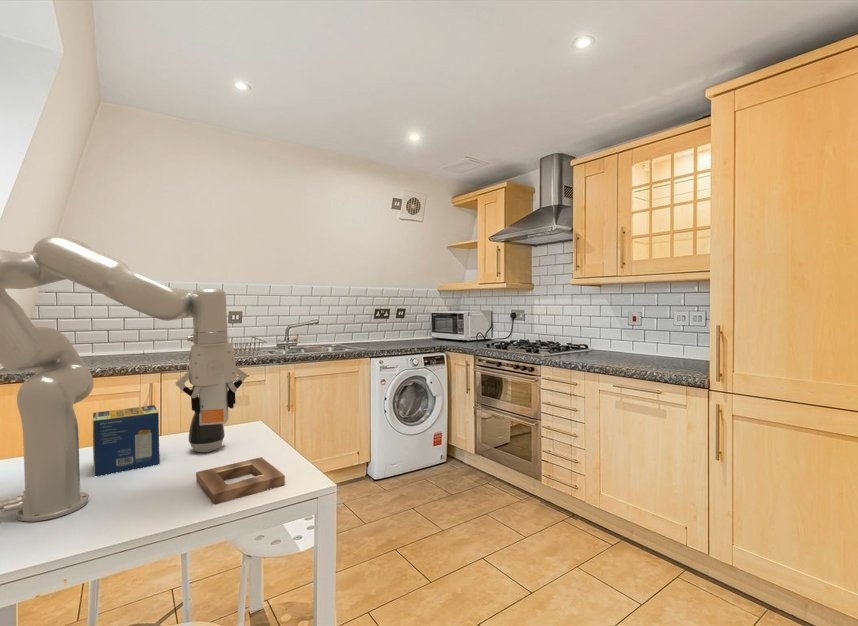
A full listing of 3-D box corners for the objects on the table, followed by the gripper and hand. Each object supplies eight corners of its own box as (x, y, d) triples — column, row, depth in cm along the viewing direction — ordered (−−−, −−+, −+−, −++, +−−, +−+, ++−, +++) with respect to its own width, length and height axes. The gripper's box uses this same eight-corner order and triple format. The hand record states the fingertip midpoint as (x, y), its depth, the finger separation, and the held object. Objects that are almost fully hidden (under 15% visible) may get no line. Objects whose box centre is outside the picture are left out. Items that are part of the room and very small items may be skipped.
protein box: (94, 465, 127) (92, 412, 126) (156, 454, 136) (155, 404, 135) (93, 477, 118) (92, 420, 118) (160, 464, 128) (159, 411, 127)
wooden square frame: (213, 504, 103) (213, 493, 103) (196, 481, 116) (196, 471, 116) (284, 484, 114) (284, 475, 114) (261, 465, 127) (261, 456, 127)
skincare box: (199, 426, 107) (196, 377, 106) (203, 421, 111) (201, 374, 110) (226, 423, 108) (224, 375, 108) (229, 419, 112) (227, 372, 112)
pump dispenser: (221, 454, 136) (220, 405, 136) (184, 456, 134) (183, 407, 133) (228, 443, 146) (227, 397, 146) (194, 445, 144) (193, 399, 143)
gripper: (173, 342, 100) (177, 420, 101) (252, 336, 111) (254, 406, 112) (168, 340, 106) (171, 413, 107) (243, 335, 117) (246, 401, 118)
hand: (214, 409), depth 109 cm, fingers closed on skincare box, 7 cm apart
